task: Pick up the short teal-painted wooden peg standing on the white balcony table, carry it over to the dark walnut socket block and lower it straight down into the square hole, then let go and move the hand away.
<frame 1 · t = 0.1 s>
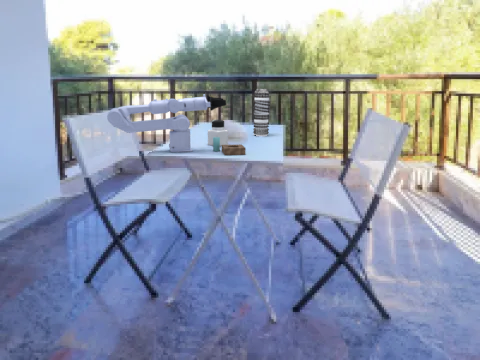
hand: (224, 101, 209), 22 cm above the table, tool horizontal, fingers open, 7 cm apart
medicine bottle: (217, 145, 226), on the table
decorative candle: (260, 135, 258), on the table
peg: (216, 150, 210), on the table
socket block: (233, 153, 205), on the table
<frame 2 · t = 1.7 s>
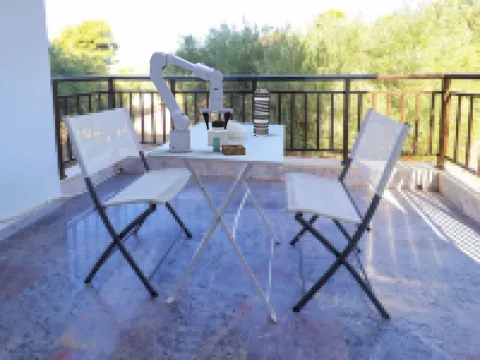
hand: (216, 129, 208), 10 cm above the table, tool pointing down, fingers open, 7 cm apart
nothing on the table moved.
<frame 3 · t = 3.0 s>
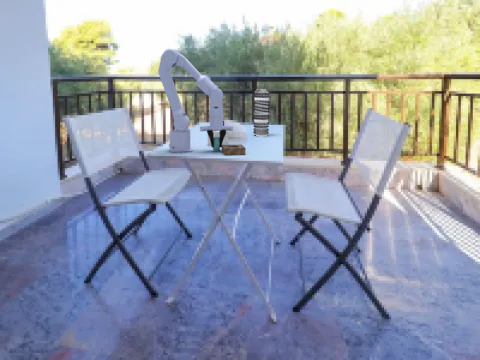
hand: (216, 147, 210), 2 cm above the table, tool pointing down, fingers closed on peg, 3 cm apart
peg: (216, 150, 210), on the table, touching gripper
everything else where it was.
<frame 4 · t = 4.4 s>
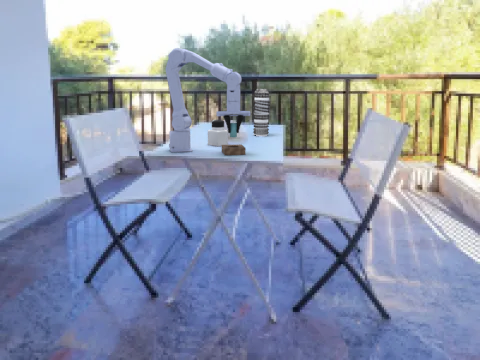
hand: (233, 132, 203), 9 cm above the table, tool pointing down, fingers closed on peg, 3 cm apart
peg: (233, 136, 204), point 7 cm above the table, touching gripper
everything else where it was.
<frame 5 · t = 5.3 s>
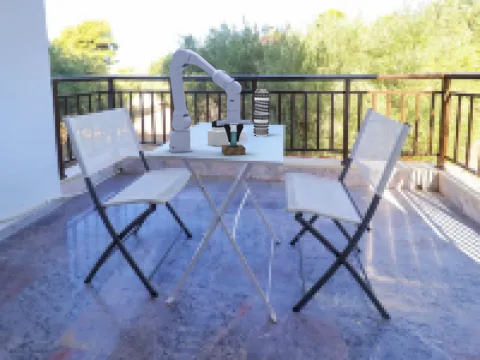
hand: (233, 141, 204), 5 cm above the table, tool pointing down, fingers closed on peg, 3 cm apart
peg: (233, 145, 205), point 3 cm above the table, touching gripper
everything else where it was.
when the fingers open (3 cm above the table, at t = 6.0 s): peg drops 2 cm, resting in socket block.
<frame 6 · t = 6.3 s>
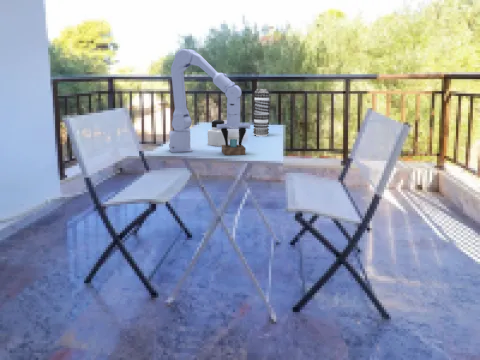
hand: (233, 145, 205), 3 cm above the table, tool pointing down, fingers open, 5 cm apart
peg: (233, 153, 206), resting in socket block
everything else where it was.
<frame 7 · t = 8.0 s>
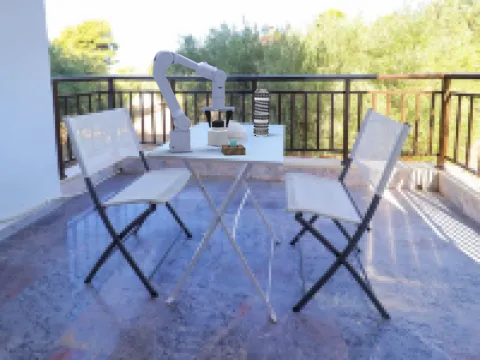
hand: (218, 127, 213), 10 cm above the table, tool pointing down, fingers open, 7 cm apart
nothing on the table moved.
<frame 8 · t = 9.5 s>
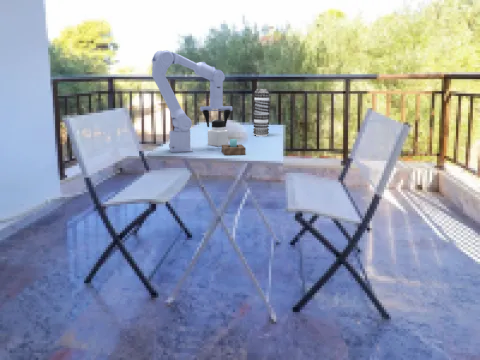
hand: (216, 126, 215), 10 cm above the table, tool pointing down, fingers open, 7 cm apart
nothing on the table moved.
at the end: peg 0.1 cm off-centre on the socket block, point 0.0 cm above the socket block's base; peg tilted 0°; the gripper is holding nothing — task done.
